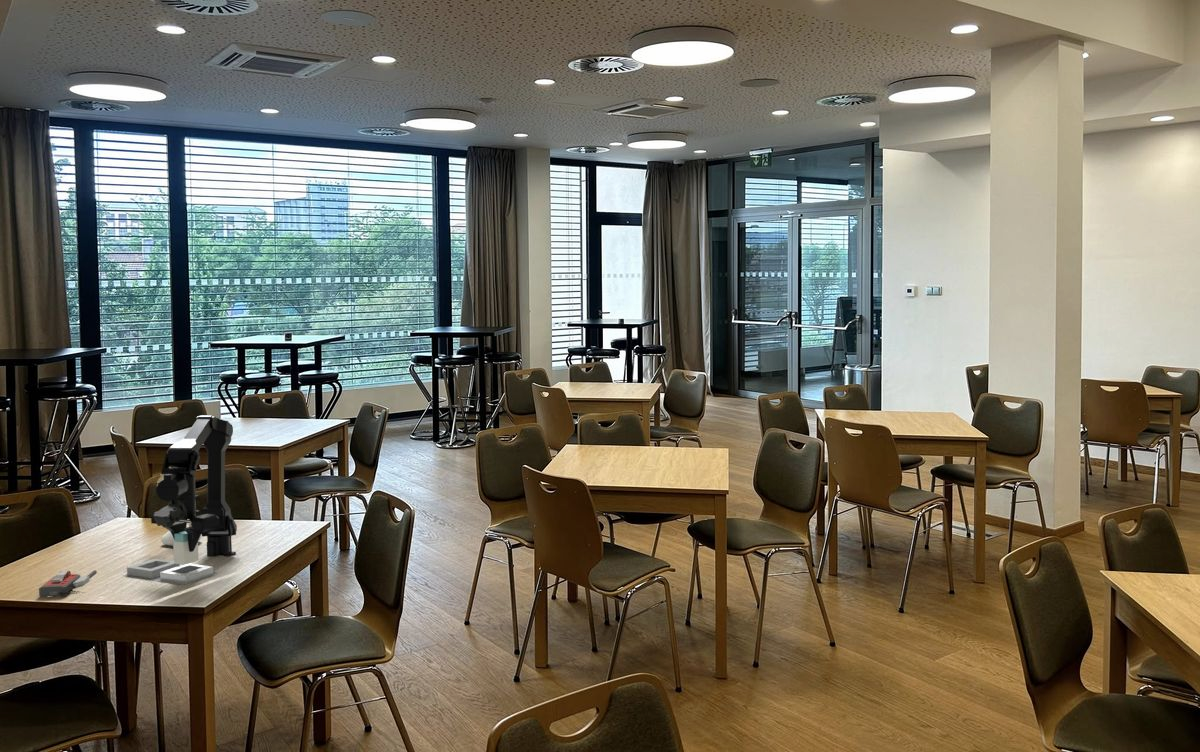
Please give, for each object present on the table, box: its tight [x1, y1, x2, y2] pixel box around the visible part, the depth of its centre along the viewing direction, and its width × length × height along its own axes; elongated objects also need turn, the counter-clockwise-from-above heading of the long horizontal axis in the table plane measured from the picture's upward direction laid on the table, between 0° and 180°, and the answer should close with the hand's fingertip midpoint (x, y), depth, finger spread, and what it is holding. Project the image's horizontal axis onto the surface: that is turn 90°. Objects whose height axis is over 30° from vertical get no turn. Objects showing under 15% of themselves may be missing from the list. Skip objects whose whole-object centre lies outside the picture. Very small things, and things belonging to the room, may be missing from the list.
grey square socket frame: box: [126, 558, 181, 578], centre depth 266 cm, size 9×10×2 cm
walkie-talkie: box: [38, 569, 98, 598], centre depth 256 cm, size 9×4×20 cm
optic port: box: [160, 563, 214, 584], centre depth 262 cm, size 9×10×2 cm
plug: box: [172, 531, 200, 566], centre depth 261 cm, size 4×5×8 cm
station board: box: [122, 571, 218, 586], centre depth 264 cm, size 22×12×1 cm, turn 67°
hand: (186, 550), depth 261 cm, fingers closed on plug, 3 cm apart
